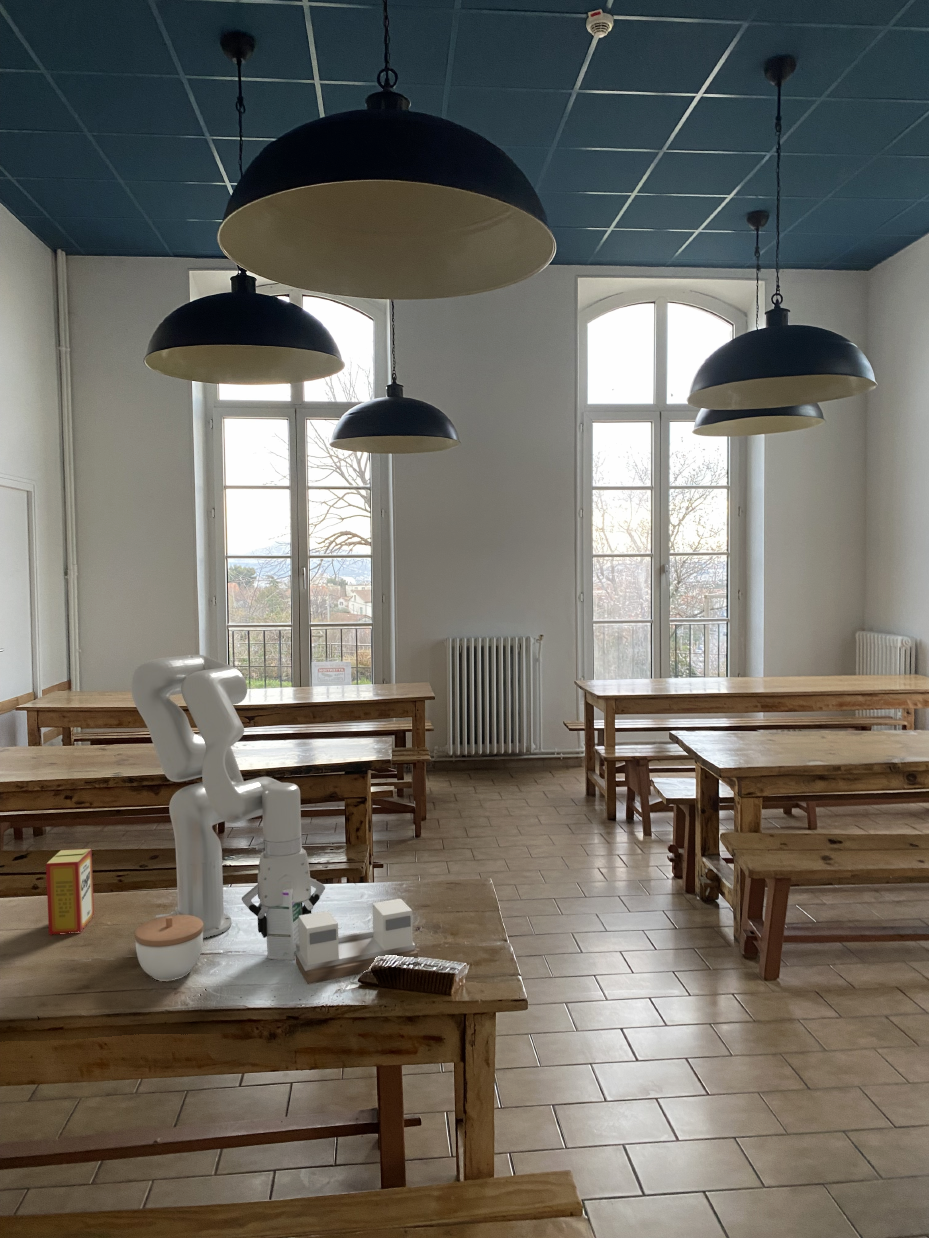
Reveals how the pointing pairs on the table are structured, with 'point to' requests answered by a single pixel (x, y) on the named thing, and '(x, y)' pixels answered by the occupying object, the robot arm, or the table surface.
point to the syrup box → (283, 928)
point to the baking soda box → (70, 890)
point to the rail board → (349, 958)
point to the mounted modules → (323, 931)
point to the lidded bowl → (169, 945)
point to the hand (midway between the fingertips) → (285, 930)
